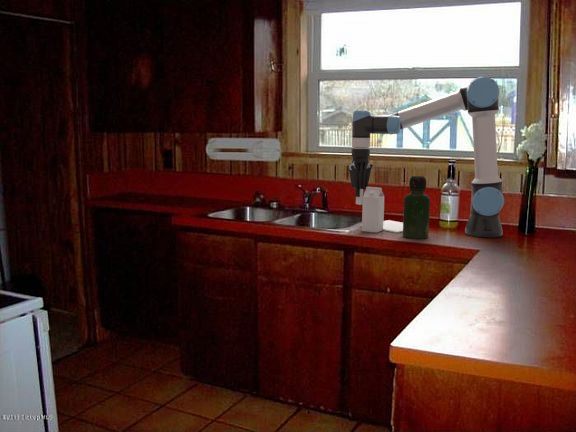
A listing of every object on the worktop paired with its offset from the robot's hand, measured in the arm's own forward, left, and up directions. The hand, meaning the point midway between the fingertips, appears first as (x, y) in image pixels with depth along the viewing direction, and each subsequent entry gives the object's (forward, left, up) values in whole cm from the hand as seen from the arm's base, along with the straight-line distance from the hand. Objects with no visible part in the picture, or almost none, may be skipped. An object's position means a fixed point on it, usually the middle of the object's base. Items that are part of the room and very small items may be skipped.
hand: (359, 204), depth 263 cm
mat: (+1, -23, -12) cm, 26 cm away
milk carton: (0, -9, -13) cm, 15 cm away
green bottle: (-20, -13, -13) cm, 27 cm away
